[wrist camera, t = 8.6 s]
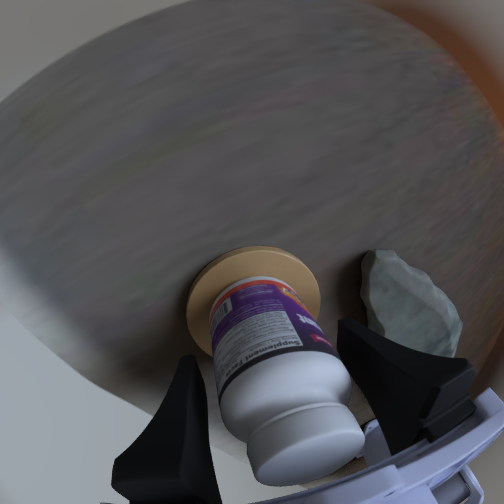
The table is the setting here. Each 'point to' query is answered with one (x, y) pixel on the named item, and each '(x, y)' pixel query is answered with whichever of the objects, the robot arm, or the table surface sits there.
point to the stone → (408, 305)
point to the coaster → (241, 267)
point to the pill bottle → (281, 384)
